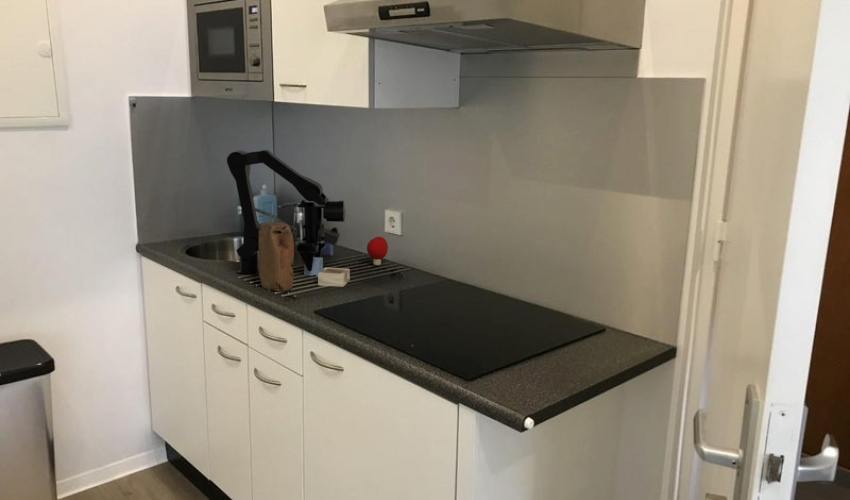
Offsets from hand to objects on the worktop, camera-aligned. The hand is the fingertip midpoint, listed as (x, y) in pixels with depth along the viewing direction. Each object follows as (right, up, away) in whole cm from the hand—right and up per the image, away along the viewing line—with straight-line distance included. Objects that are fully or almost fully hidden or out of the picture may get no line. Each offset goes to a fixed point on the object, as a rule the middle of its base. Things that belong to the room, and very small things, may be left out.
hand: (313, 267), depth 223 cm
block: (-8, -6, -18) cm, 21 cm away
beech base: (+8, -5, -10) cm, 14 cm away
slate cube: (0, -2, 0) cm, 2 cm away
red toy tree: (+20, 0, +13) cm, 24 cm away
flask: (-2, +4, +28) cm, 28 cm away
